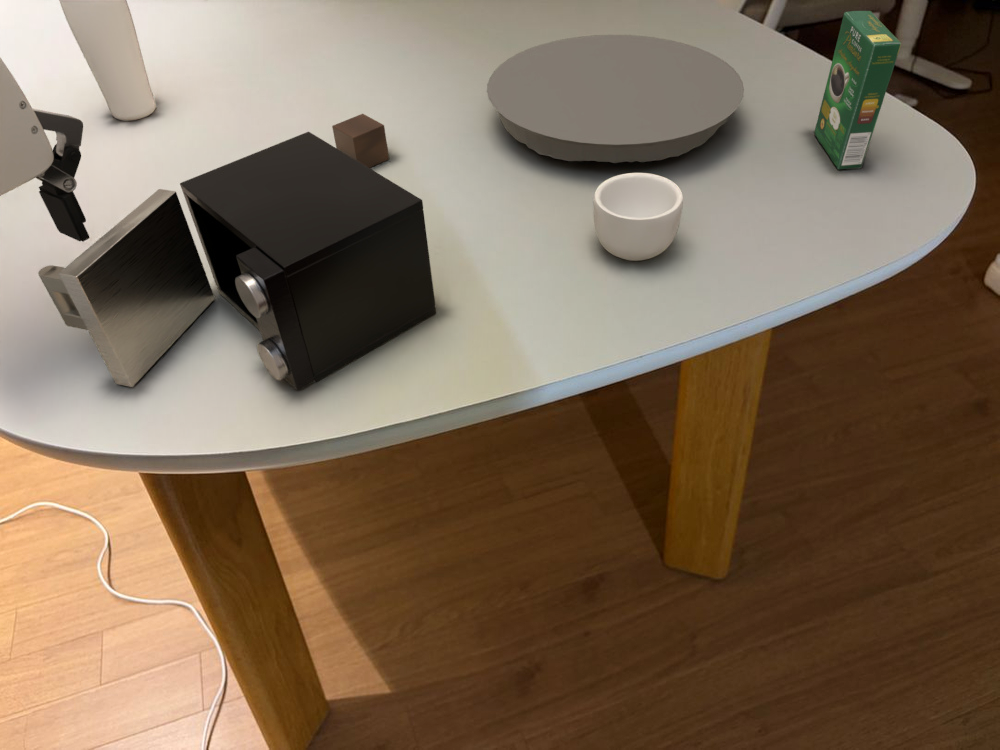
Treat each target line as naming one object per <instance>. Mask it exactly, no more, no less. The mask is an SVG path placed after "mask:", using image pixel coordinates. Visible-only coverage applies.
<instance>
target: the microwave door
mask: <svg viewBox="0 0 1000 750" xmlns="http://www.w3.org/2000/svg"><path fill="white" fill-rule="evenodd" d="M37 275H38V276H39V278H40V281H41V282H42V284H43V286H44V287H45V290H46V291H47V293H48V295H49V297H50V299H51V300H52V302H53V304H54V306H55V308H56V310H57V311H58V313H59V315H60V317H61V319H62V321H63V322H64V325H65V326H66V327H69V328H75V329H80V330H85V331H87V332H88V333H89V335H90V337H91V339H92V341H93V343H94V344H95V347H96V349H97V350H98V352H99V354H100V356H101V358H102V360H103V362H104V364H105V366H106V367H107V370H108V371H109V373H110V375H111V378H112V379H113V381H114V383H115V384H116V385H120V386H124V387H129V388H133V387H135V385H136V384H138V382H139V381H140V380H141V379H142V378H143V377H144V375H146V374H147V373H148V372H149V370H150V369H151V368H152V367H153V366H154V365H155V364H156V362H158V361H159V359H160V358H161V357H162V356H163V355H164V354H165V353H166V352H167V351H168V350H169V349H170V348H171V347H172V345H174V343H175V342H176V341H177V340H178V339H179V338H180V337H181V336H182V335H183V334H184V333H185V332H186V330H187V329H188V328H189V327H190V326H191V325H192V324H193V323H194V322H195V321H196V320H197V319H198V318H199V317H200V316H201V314H202V313H203V312H204V311H205V310H206V309H207V308H208V307H209V306H210V305H211V304H212V302H213V301H214V300H215V295H214V292H213V290H212V286H211V284H210V281H209V278H208V276H207V273H206V270H205V268H204V264H203V262H202V260H201V257H200V254H199V251H198V248H197V245H196V243H195V240H194V238H193V235H192V232H191V228H190V226H189V224H188V221H187V218H186V215H185V213H184V210H183V207H182V204H181V202H180V199H179V197H178V194H177V191H176V190H169V189H162V188H159V189H157V190H156V191H155V192H154V193H153V194H151V195H150V196H149V197H148V198H146V199H145V200H144V201H143V202H142V203H140V204H139V205H138V206H137V207H136V208H134V210H132V211H130V213H128V214H127V215H126V216H125V217H124V218H123V219H121V220H120V221H119V222H118V223H116V224H115V225H114V226H113V227H112V228H110V229H109V230H108V231H107V232H106V233H105V234H104V235H102V236H101V237H99V239H98V240H96V241H95V242H94V243H93V244H91V245H90V246H89V247H88V248H86V250H84V251H83V252H82V253H81V254H80V255H78V256H77V257H76V258H75V259H74V260H72V261H71V262H70V263H69V264H68V265H67V266H65V267H64V266H58V265H53V264H52V265H45V266H43V267H41V268H40V269H39V270H38V273H37Z"/></svg>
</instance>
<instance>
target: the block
mask: <svg viewBox="0 0 1000 750" xmlns="http://www.w3.org/2000/svg"><path fill="white" fill-rule="evenodd" d="M331 128H332V134H333V138H334V143H335V148H337V149H338V150H340V151H342V152H343V153H345V154H347V155H348V156H350V157H352V158H353V159H355V160H357V161H358V162H360V163H362V164H363V165H365V166H367V167H368V168H370V169H371V168H373V167H374V166H377V165H380V164H381V163H384V162H386V161H388V160H390V155H389V148H388V142H387V136H386V128H385V125H384V124H383V123H381V122H379V121H378V120H375V119H373V118H372V117H370V116H368V115H366V114H365V113H361V114H358V115H356V116H353V117H351V118H348V119H346V120H343V121H340V122H339V123H336V124H333V125H332V126H331Z"/></svg>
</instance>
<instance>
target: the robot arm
mask: <svg viewBox="0 0 1000 750" xmlns="http://www.w3.org/2000/svg"><path fill="white" fill-rule="evenodd" d="M46 131H51V132H55V136H56V138H55V141H56V144H55V145H54V146H53V148H52V145H51V142H50V140H49V138H48V135H47V133H46ZM83 133H84V122H83V121H82V120H81V119H80V118H77V117H74V116H71V115H69V114H68V115H67V114H62V113H58V112H52V111H48V110H43V109H37V108H33V106H32V105H31V104H30V101H29V99H28V98H27V96H26V95H25V93H24V91H23V89H22V88H21V86H20V85H19V83H18V82H17V80H16V78H15V77H14V75H13V74H12V72H11V71H10V69H9V67H7V65H6V63H5V62H4V61H3V59H2V57H0V197H1V196H3V195H5V194H7V193H9V192H11V191H13V190H15V189H17V188H19V187H21V186H23V185H25V184H27V183H29V182H30V181H33V180H34V179H37V180H39V181H40V182H41V185H40V186H38V189H39V191H38V193H39V196H40V197H41V199H42V202H43V203H44V205H45V208H46V210H47V211H48V214H49V216H50V217H51V220H52V221H53V223H54V225H55V228H56V230H57V231H58V232H59V233H60V234H63V235H65V236H67V237H69V238H72V239H73V240H75V241H77V242H83V243H84V242H86V241H87V240H89V239H90V234H89V233H88V229H87V228H86V226H85V223H86V222H87V219H86V216H85V214H84V212H83V209H82V207H81V206H80V203H79V201H78V199H77V197H76V195H75V192H74V191H75V190H76V188H77V186H78V185H77V184H78V183H77V180H76V179H75V177H76V174H77V171H78V168H79V165H80V162H81V160H82V152H81V150H80V147H81V146H82V140H83Z"/></svg>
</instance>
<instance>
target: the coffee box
mask: <svg viewBox="0 0 1000 750" xmlns="http://www.w3.org/2000/svg"><path fill="white" fill-rule="evenodd" d="M901 47H902V42H901V41H900V40H899V39H898V38H897V37H896V36H895V35H894V34H893V33H892V32H891V31H890V30H889V29H888V28H887V27H886V25H884V23H882V21H881V20H880V19H879V18H878V17H877V16H876V15H875V13H873V12H872V11H871V10H852V11H851V10H850V11H844V13H843V17H842V20H841V24H840V29H839V33H838V37H837V41H836V45H835V49H834V51H833V52H834V53H833V56H832V61H831V64H830V69H829V71H828V72H829V73H828V77H827V81H826V84H825V88H824V91H823V92H824V93H823V96H822V100H821V104H820V108H819V112H818V116H817V120H816V124H815V128H814V131H813V134H814V135H815V137H816V139H817V141H818V143H819V144H821V146H822V147H823V149H824V151H825V152H826V153H827V155H828V156H829V158H830V160H831V162H832V163H833V164H834V166H835V167H836V169H837V170H853V169H854V170H855V169H862V168H863V164H864V163H865V159H866V155H867V152H868V149H869V147H870V143H871V140H872V138H873V137H872V136H873V134H874V131H875V128H876V124H877V121H878V118H879V115H880V112H881V109H882V106H883V102H884V99H885V96H886V93H887V90H888V87H889V83H890V81H891V77H892V74H893V71H894V69H895V65H896V63H897V58H898V56H899V52H900V50H901Z"/></svg>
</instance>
